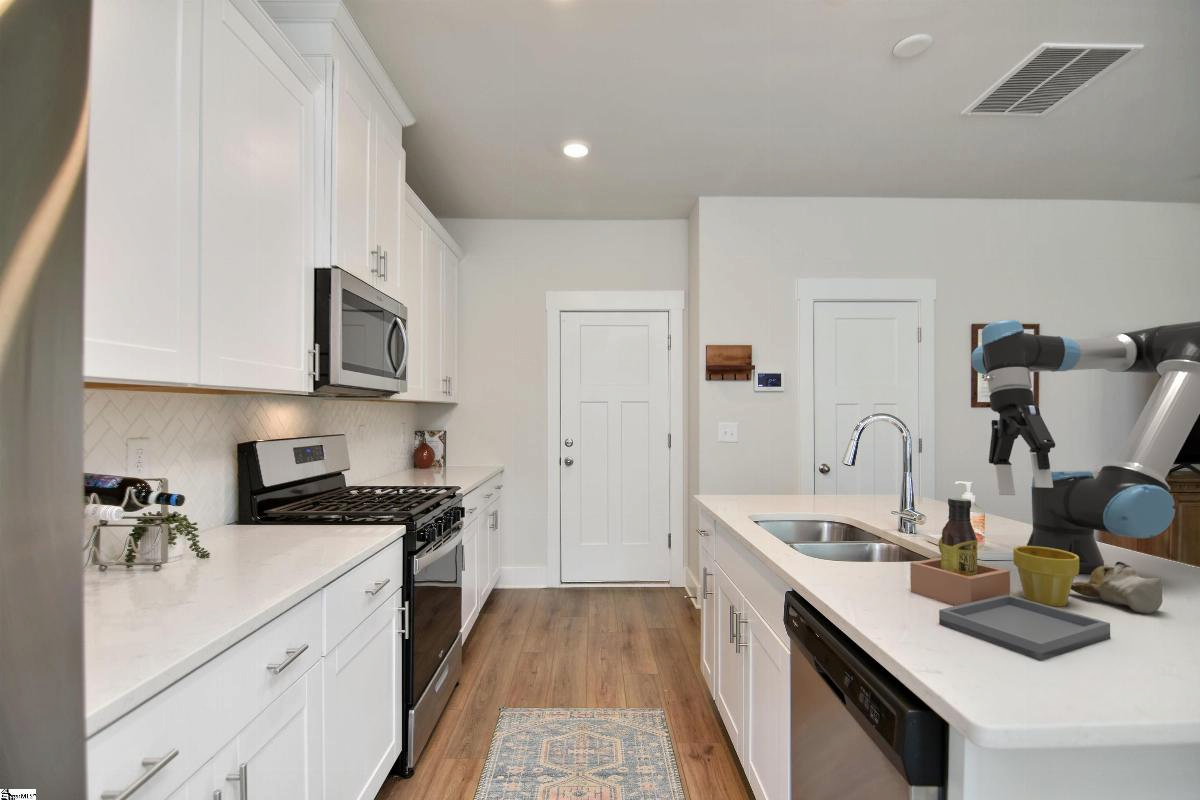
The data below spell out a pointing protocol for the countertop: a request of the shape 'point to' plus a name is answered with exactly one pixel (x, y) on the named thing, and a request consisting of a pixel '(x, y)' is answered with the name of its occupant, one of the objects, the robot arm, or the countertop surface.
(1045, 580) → the plant pot
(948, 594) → the terracotta holder
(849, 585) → the countertop surface
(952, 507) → the sauce bottle
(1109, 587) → the ceramic sculpture
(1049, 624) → the grey tray
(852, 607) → the countertop surface
